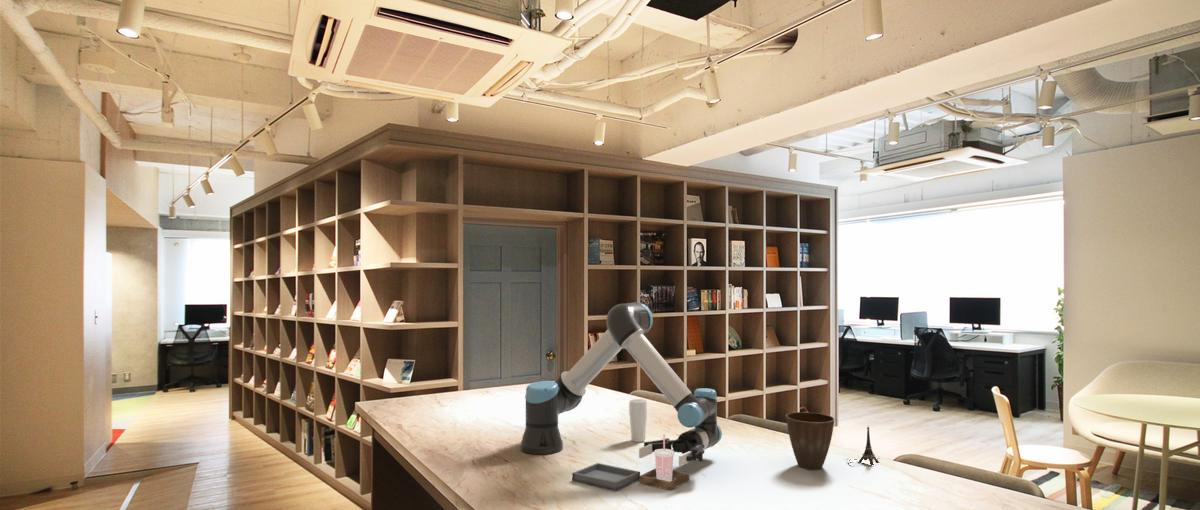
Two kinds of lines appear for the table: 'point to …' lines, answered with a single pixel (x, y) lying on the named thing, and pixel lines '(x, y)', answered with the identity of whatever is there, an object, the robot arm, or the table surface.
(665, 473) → the beverage cup
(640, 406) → the white tumbler
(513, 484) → the table surface
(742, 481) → the table surface
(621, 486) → the tray
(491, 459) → the table surface
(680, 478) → the holder
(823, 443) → the plant pot
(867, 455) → the eiffel tower figurine
